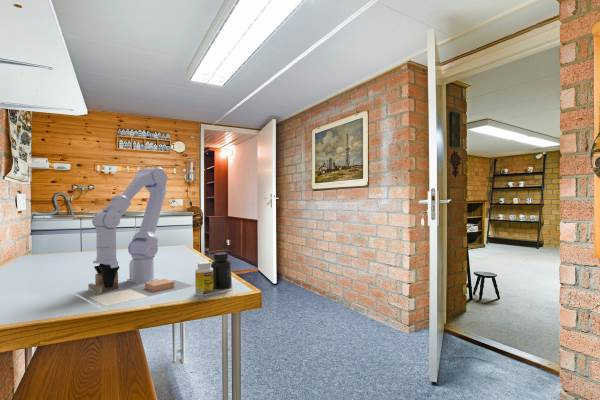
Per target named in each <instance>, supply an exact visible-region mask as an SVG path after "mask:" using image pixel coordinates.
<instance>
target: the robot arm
mask: <svg viewBox="0 0 600 400" xmlns="http://www.w3.org/2000/svg"><path fill="white" fill-rule="evenodd" d="M168 177H169V176H168V175H167V173H166V170H164V168H162V167H161V166H157V167H151V168H141V169H139V170H138V172H136V173H135V174H134V178H133V179H132V180H131V182H130V183H129V185H128V186H126V188H125V190H124V191H123V192H122V194H117V195H115V196H113V197H111V198H110V199H111V201H110V202H108V204H106V206H104V207H103V208H102V211H100V212H97V213H96V214H95V215H94V217H93V219H92V220H91V223H92V225H93V227H94V228H95V232H96V234H95V235H96V258H95V260H93V261H92V264H98V265H94V267H93V268H94V270H95V271H96V274H99V273H102V275H103V279H104V285H105V288H109V287H113V283H114V279H115V276H116V273H117V272H118V271H119V269H120V266H119V261H118V259H117V227H118V226H119V225H120V223H121V218H122V215H124V214H125V212H126V211H127V210H128V209H129V208H130V206H131V205H132V203H131V200H132V199H133V198H134V197H135V196H136V195H137V194H138V193H139V192H140V191H141V190H142V189H144V188H145V189H146V190H147V191H148V192H149V197H148V201H147V204H146V208H145V211H144V214H143V217H142V222H141V225H140V227H139V231H138V232H137V233H135V235H133V237H132V240H131V241H130V242H129V243H128V246H127V252H128V254H129V255H130V256H131V258H132V259H131V260H130V261H129V266H128V267H129V272H128V274H129V278H127V279H126V281H127V282H131V283H135V284H141V283H142V284H143V283H146V282H151V281H156V280H159V278H157V277H155V271H154V268H155V267H154V263H155V262H154V258H155V256H156V255H157V253H158V250H159V238H158V237H157V236H156V234H155V233H156V230H157V226H158V223H159V219H160V215H161V212H162V209H163V204H164V202H165V197H166V194H167V193H166V192H167V188H166V187H167V185H166V184H167V181H168Z"/></svg>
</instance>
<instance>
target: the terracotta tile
mask: <svg viewBox="0 0 600 400" xmlns="http://www.w3.org/2000/svg"><path fill="white" fill-rule="evenodd" d="M144 286H145V289H147V290H150V291H153V292H156V291H161V290H165V289H170V288H174V281H172V280H170V279H166V278H163V279H162V278H161V279H158V280H153V281H148V282H144Z"/></svg>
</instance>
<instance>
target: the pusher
mask: <svg viewBox="0 0 600 400" xmlns="http://www.w3.org/2000/svg"><path fill="white" fill-rule="evenodd" d="M94 277H95V278H94V279H95V283H94V282H93V283H88V286H87V287H88V289H87V290H88V291H89V292H92V293H94V294H96V296H99V295H103V292H107V291H111V290H112V291H113V290H117V289H119V272H118V271H117V273H116V276H115V279H114V283H113V287H109V288H105V285H104V279H103V275H102V273H99V274H98V273H95V276H94Z"/></svg>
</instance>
